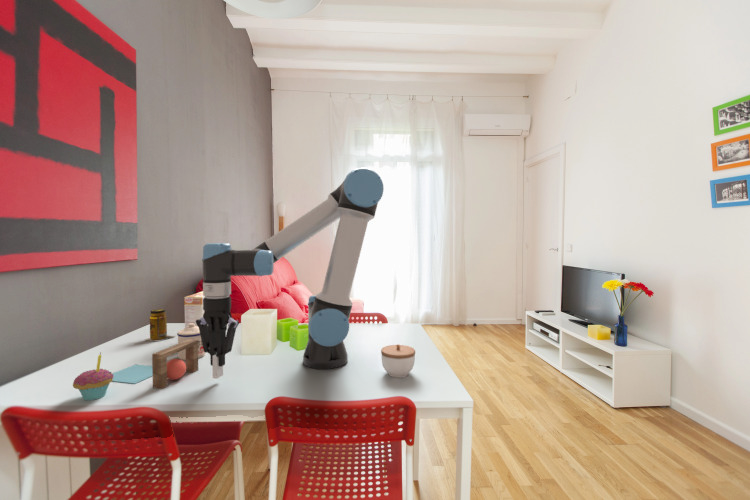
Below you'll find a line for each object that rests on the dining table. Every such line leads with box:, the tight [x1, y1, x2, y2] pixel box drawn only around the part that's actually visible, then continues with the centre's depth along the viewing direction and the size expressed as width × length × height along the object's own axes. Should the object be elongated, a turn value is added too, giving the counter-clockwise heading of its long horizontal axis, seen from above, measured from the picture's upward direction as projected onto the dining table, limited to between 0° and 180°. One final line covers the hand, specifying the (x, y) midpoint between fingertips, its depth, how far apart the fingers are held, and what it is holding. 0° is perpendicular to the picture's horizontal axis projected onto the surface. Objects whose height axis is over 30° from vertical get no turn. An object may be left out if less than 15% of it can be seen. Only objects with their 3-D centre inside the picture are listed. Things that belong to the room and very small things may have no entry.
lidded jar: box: [380, 343, 416, 379], centre depth 117 cm, size 11×11×9 cm
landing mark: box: [112, 364, 153, 385], centre depth 115 cm, size 13×13×1 cm
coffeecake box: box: [183, 290, 208, 328], centre depth 150 cm, size 15×7×20 cm, turn 178°
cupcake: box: [72, 352, 114, 401], centre depth 99 cm, size 9×8×12 cm
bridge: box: [151, 339, 199, 390], centre depth 112 cm, size 3×15×10 cm, turn 167°
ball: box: [167, 358, 187, 381], centre depth 112 cm, size 6×6×6 cm
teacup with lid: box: [176, 323, 206, 361], centre depth 134 cm, size 12×9×12 cm
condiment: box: [146, 308, 176, 342], centre depth 154 cm, size 7×8×12 cm
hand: (217, 376), depth 109 cm, fingers closed
